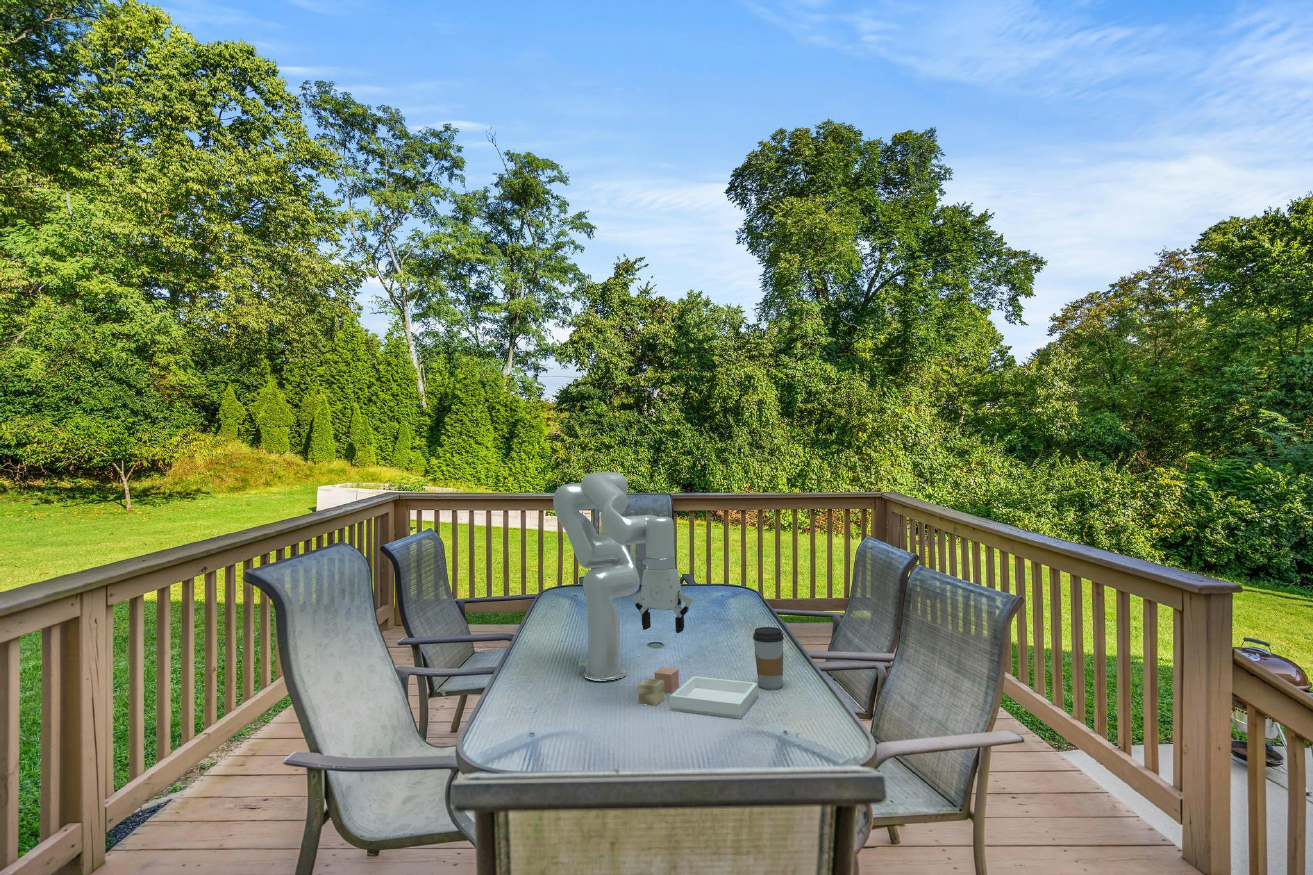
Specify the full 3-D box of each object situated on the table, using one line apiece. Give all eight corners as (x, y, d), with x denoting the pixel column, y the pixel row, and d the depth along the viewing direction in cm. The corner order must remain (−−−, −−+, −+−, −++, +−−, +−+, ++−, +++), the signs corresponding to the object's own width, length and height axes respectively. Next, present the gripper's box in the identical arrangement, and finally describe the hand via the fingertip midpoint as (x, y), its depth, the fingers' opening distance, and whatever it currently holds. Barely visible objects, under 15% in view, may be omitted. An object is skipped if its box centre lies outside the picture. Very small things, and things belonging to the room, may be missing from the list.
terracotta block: (655, 691, 169) (654, 672, 170) (662, 685, 174) (661, 667, 174) (672, 693, 167) (671, 674, 168) (679, 687, 172) (678, 668, 172)
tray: (670, 710, 155) (670, 695, 155) (693, 689, 170) (693, 676, 170) (740, 719, 148) (740, 704, 148) (758, 696, 162) (757, 682, 162)
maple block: (639, 704, 160) (638, 684, 160) (647, 697, 165) (646, 678, 165) (656, 706, 158) (656, 686, 158) (664, 699, 163) (663, 680, 163)
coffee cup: (786, 691, 165) (783, 634, 166) (754, 690, 167) (751, 633, 168) (786, 681, 173) (783, 626, 174) (755, 680, 175) (753, 626, 176)
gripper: (625, 565, 165) (627, 630, 164) (684, 567, 157) (686, 636, 156) (639, 561, 172) (641, 624, 170) (696, 563, 163) (699, 629, 162)
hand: (662, 630), depth 163 cm, fingers open, 9 cm apart
